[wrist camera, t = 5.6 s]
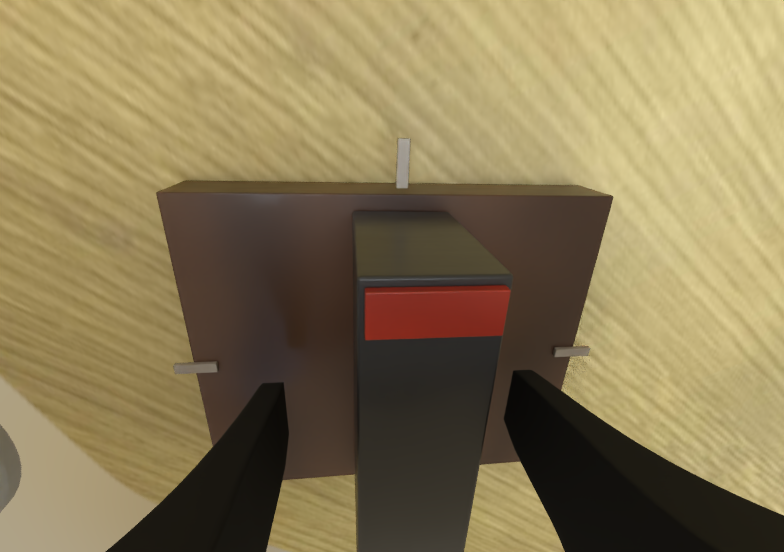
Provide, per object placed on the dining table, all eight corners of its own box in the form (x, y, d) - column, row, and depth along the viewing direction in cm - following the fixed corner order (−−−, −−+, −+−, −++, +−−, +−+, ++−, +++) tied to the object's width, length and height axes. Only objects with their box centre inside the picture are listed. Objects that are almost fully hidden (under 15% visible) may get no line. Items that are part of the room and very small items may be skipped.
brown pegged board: (226, 470, 18) (211, 516, 16) (153, 127, 11) (113, 130, 10) (529, 448, 19) (549, 486, 17) (605, 140, 13) (650, 144, 11)
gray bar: (424, 462, 16) (457, 611, 11) (354, 467, 16) (358, 624, 11) (449, 210, 11) (521, 280, 7) (352, 210, 11) (356, 282, 6)
